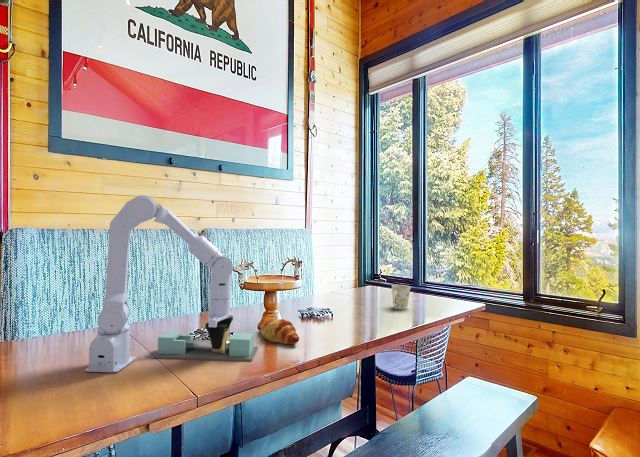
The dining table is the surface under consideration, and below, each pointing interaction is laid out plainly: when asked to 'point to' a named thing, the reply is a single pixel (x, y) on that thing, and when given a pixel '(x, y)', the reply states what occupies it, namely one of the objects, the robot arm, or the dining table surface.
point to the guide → (175, 348)
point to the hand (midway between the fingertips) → (219, 345)
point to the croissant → (279, 331)
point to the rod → (206, 344)
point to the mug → (400, 296)
